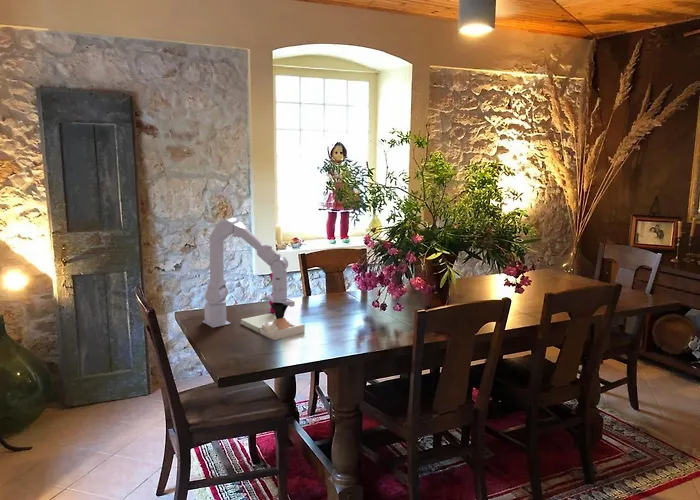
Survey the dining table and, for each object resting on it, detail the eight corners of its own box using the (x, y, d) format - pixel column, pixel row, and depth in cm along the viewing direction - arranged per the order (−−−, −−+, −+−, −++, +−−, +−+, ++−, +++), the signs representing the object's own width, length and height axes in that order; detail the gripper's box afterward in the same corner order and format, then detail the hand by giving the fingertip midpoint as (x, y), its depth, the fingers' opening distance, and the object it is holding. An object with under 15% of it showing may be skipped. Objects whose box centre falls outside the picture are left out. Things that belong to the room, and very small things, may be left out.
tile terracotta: (273, 322, 223) (274, 319, 222) (283, 321, 226) (284, 317, 224) (277, 331, 220) (279, 327, 219) (288, 329, 223) (289, 325, 222)
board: (241, 323, 230) (241, 319, 229) (270, 317, 239) (270, 313, 238) (258, 332, 219) (258, 327, 219) (288, 326, 228) (288, 321, 228)
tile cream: (261, 328, 219) (262, 323, 219) (271, 326, 222) (272, 321, 222) (267, 334, 216) (268, 329, 216) (277, 331, 219) (278, 327, 218)
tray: (259, 333, 219) (259, 324, 218) (289, 326, 228) (289, 318, 227) (274, 340, 211) (274, 331, 210) (304, 333, 220) (304, 324, 219)
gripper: (259, 286, 224) (259, 319, 227) (285, 292, 216) (285, 326, 218) (272, 283, 230) (272, 315, 232) (298, 289, 221) (298, 322, 224)
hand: (279, 320), depth 226 cm, fingers closed
